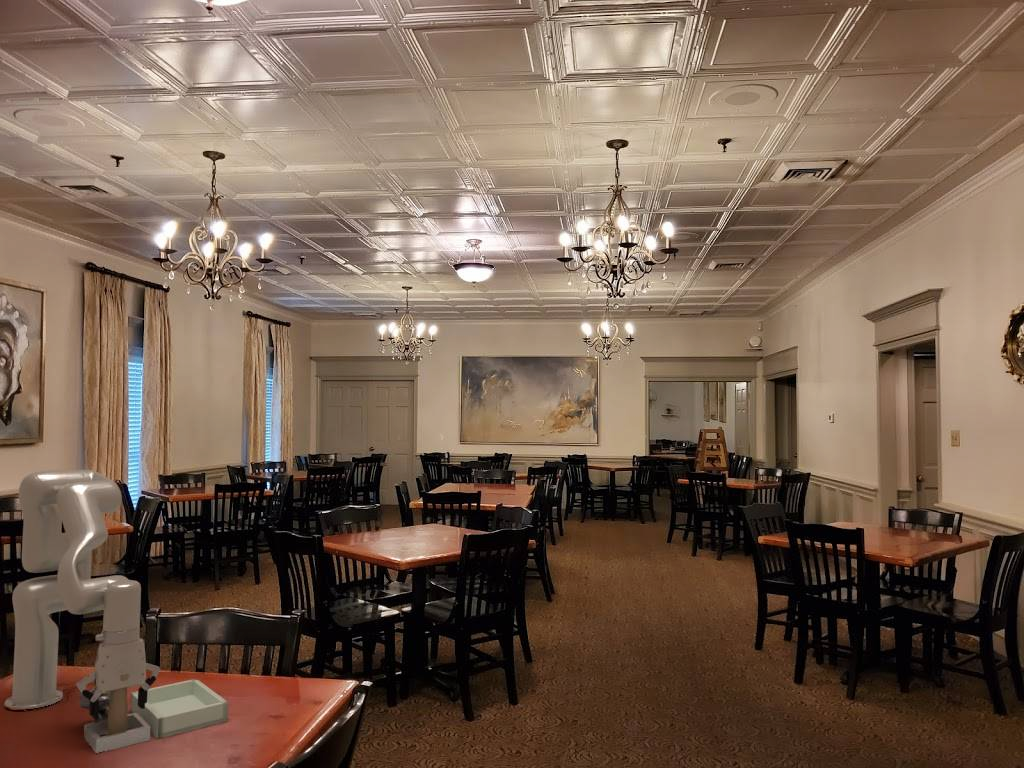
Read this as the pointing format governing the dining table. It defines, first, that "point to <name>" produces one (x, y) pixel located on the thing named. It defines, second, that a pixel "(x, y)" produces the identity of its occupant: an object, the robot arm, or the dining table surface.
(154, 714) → the tray
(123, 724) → the handle
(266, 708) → the dining table surface
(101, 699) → the bracket
